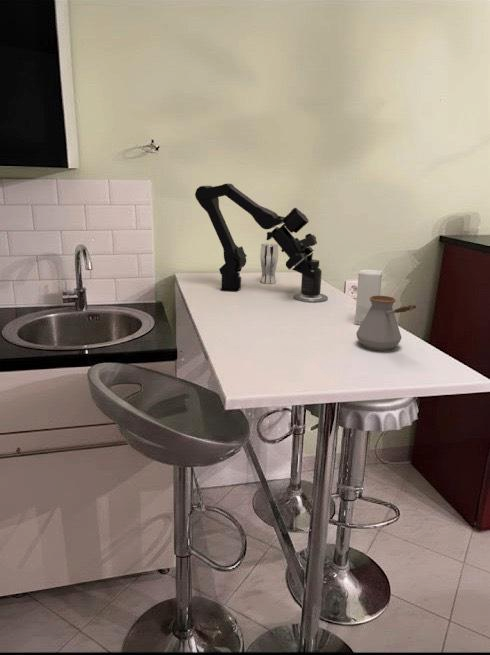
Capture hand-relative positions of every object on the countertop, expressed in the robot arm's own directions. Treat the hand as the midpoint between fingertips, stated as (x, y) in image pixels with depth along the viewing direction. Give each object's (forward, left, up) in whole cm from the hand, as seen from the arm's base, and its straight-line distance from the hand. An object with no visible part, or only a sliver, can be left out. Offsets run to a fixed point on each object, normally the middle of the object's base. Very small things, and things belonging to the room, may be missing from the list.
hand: (315, 276), depth 179 cm
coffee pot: (+21, -51, -8) cm, 56 cm away
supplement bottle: (-1, 0, -7) cm, 7 cm away
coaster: (-1, 0, -8) cm, 8 cm away
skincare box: (+17, -25, -8) cm, 31 cm away
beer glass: (-19, +21, -8) cm, 30 cm away
